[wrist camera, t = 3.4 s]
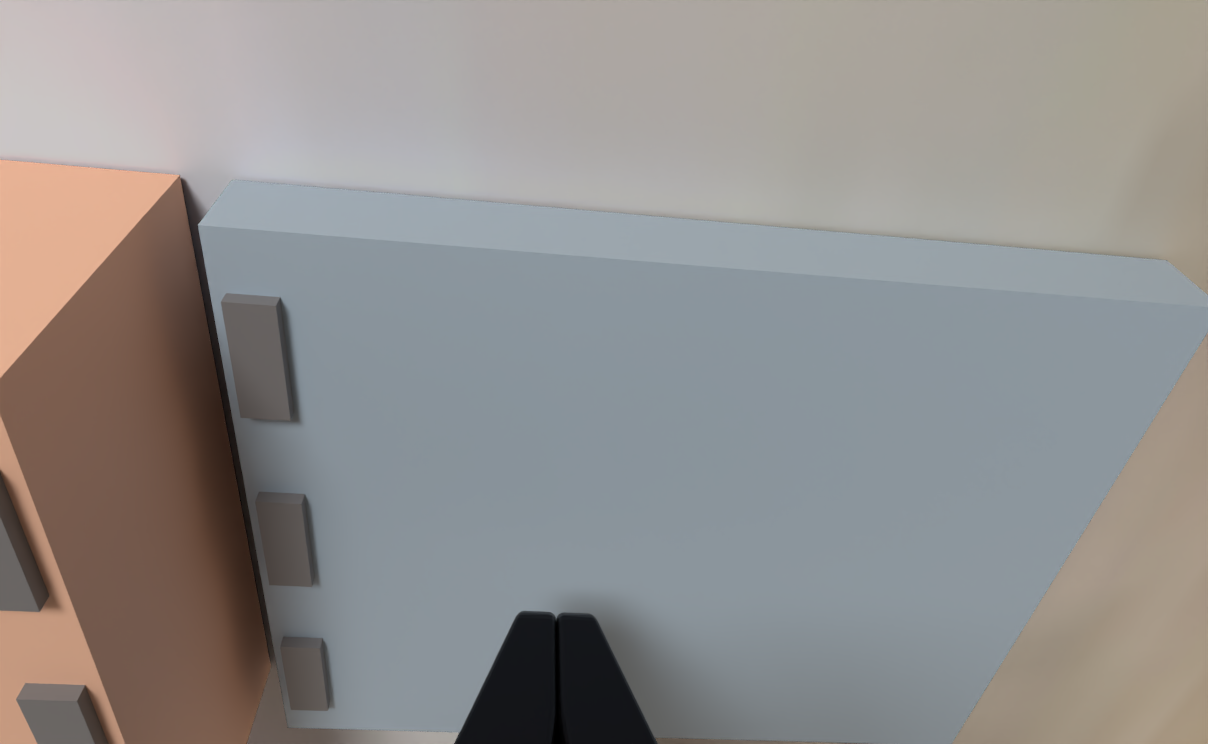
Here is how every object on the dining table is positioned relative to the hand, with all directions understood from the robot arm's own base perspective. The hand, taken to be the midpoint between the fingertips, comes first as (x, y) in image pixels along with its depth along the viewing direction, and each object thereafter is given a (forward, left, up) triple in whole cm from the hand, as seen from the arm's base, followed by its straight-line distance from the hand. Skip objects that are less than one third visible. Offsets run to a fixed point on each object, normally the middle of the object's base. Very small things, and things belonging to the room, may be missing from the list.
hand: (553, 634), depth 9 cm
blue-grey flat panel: (-2, 0, -2) cm, 3 cm away
